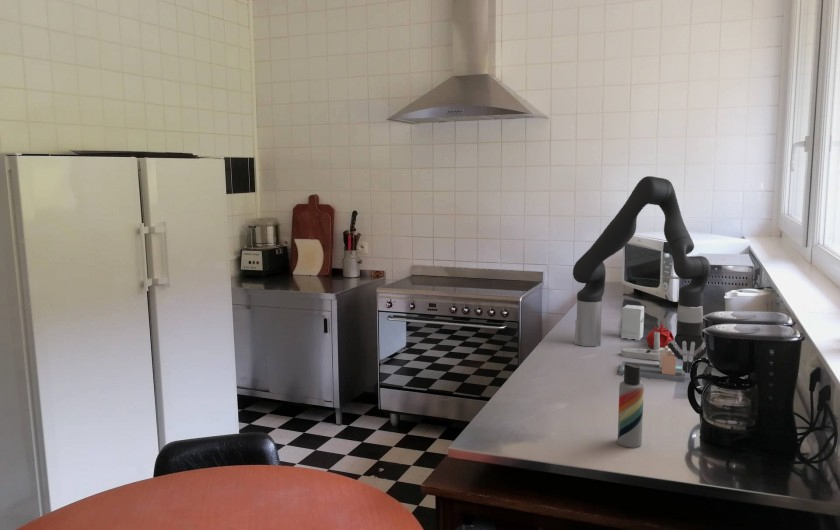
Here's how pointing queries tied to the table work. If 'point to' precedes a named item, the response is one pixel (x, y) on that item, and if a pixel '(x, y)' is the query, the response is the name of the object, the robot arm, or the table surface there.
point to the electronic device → (644, 350)
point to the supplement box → (632, 322)
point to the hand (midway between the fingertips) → (687, 372)
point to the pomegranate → (664, 337)
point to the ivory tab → (662, 350)
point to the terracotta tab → (668, 363)
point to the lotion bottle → (630, 408)
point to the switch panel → (655, 371)
